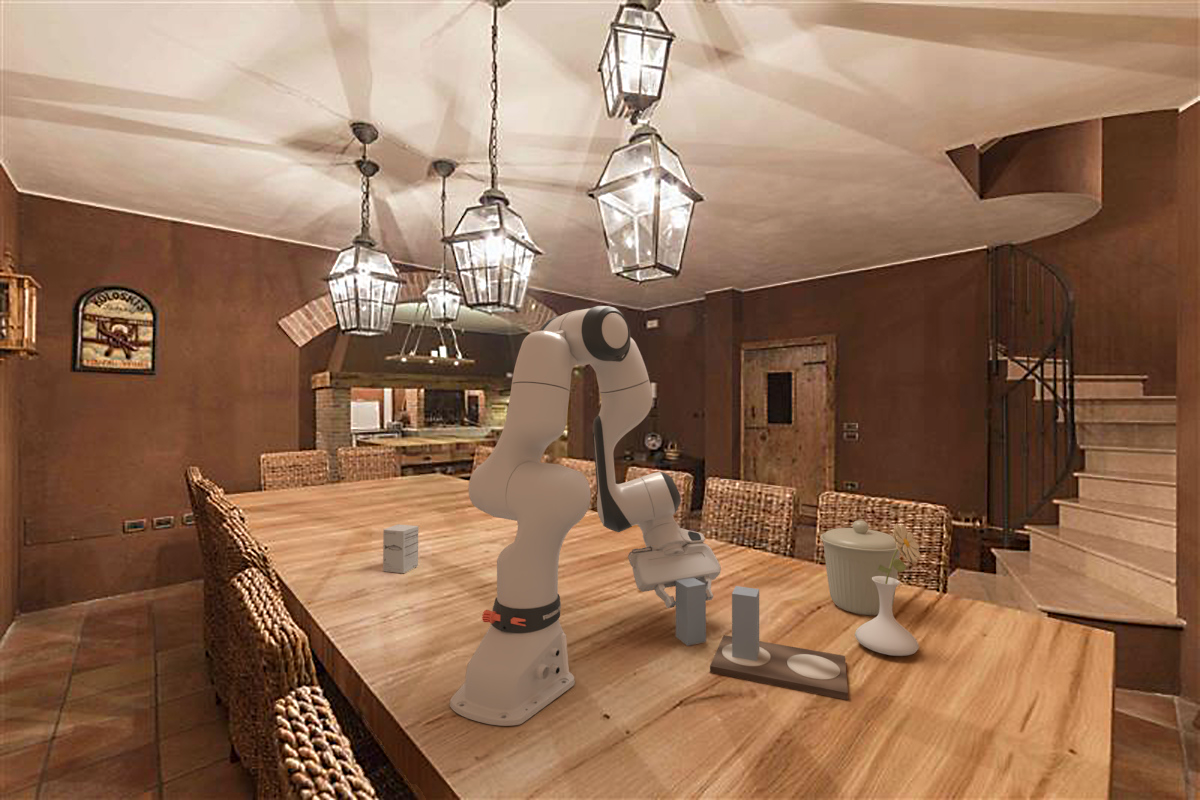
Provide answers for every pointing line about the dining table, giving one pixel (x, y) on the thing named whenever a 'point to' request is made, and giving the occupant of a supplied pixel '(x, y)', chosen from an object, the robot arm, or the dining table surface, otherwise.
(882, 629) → the flower in vase
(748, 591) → the pin
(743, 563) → the dining table surface
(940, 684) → the dining table surface
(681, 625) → the gray rectangular block
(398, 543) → the supplement box
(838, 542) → the canister
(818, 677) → the board
